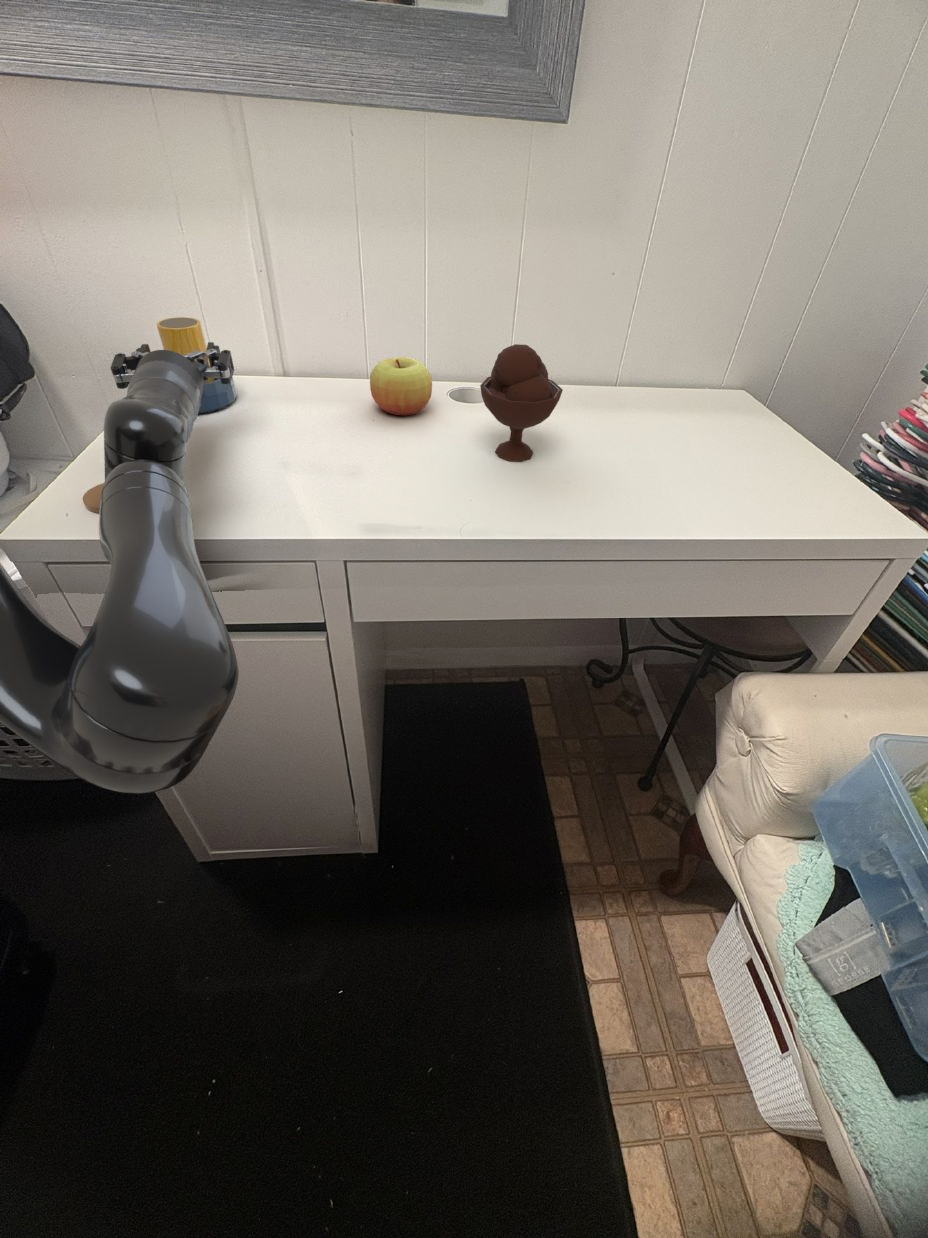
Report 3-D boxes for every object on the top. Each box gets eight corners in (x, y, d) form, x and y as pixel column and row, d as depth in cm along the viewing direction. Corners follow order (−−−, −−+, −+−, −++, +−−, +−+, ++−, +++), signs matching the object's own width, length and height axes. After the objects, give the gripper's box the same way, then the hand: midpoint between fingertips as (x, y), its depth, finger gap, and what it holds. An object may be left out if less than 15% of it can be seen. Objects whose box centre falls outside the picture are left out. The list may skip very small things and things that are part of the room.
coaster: (84, 518, 65) (81, 512, 65) (85, 491, 69) (82, 485, 69) (147, 507, 67) (145, 501, 67) (144, 482, 72) (142, 476, 71)
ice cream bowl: (555, 472, 79) (575, 359, 69) (475, 468, 78) (483, 354, 68) (548, 439, 86) (565, 333, 76) (476, 435, 86) (482, 328, 76)
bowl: (163, 420, 85) (154, 389, 82) (158, 392, 93) (149, 364, 90) (242, 410, 89) (235, 381, 86) (231, 384, 97) (225, 357, 94)
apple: (366, 419, 89) (362, 366, 83) (376, 396, 96) (373, 346, 90) (429, 423, 89) (429, 370, 83) (434, 399, 96) (434, 349, 90)
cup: (180, 407, 88) (157, 329, 80) (176, 393, 91) (154, 318, 84) (221, 402, 90) (202, 326, 82) (215, 388, 94) (198, 315, 86)
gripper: (221, 358, 67) (227, 320, 79) (88, 363, 64) (115, 322, 76) (235, 420, 72) (239, 375, 84) (112, 427, 69) (134, 379, 81)
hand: (180, 350), depth 80 cm, fingers open, 8 cm apart
